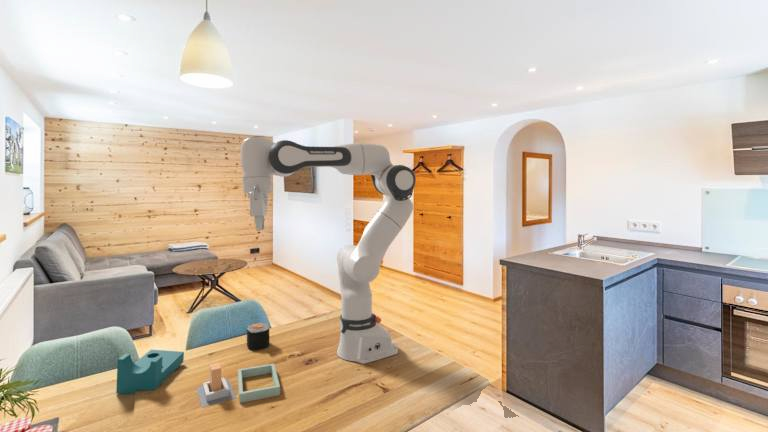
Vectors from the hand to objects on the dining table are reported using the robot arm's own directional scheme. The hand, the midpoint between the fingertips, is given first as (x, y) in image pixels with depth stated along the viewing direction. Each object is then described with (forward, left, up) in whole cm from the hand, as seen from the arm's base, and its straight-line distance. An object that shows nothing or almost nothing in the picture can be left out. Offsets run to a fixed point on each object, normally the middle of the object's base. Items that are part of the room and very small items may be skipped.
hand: (260, 230), depth 122 cm
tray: (+2, +12, -47) cm, 48 cm away
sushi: (0, -20, -47) cm, 51 cm away
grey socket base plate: (+14, +11, -47) cm, 50 cm away
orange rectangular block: (+14, +11, -46) cm, 49 cm away
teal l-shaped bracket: (+33, -7, -47) cm, 58 cm away
